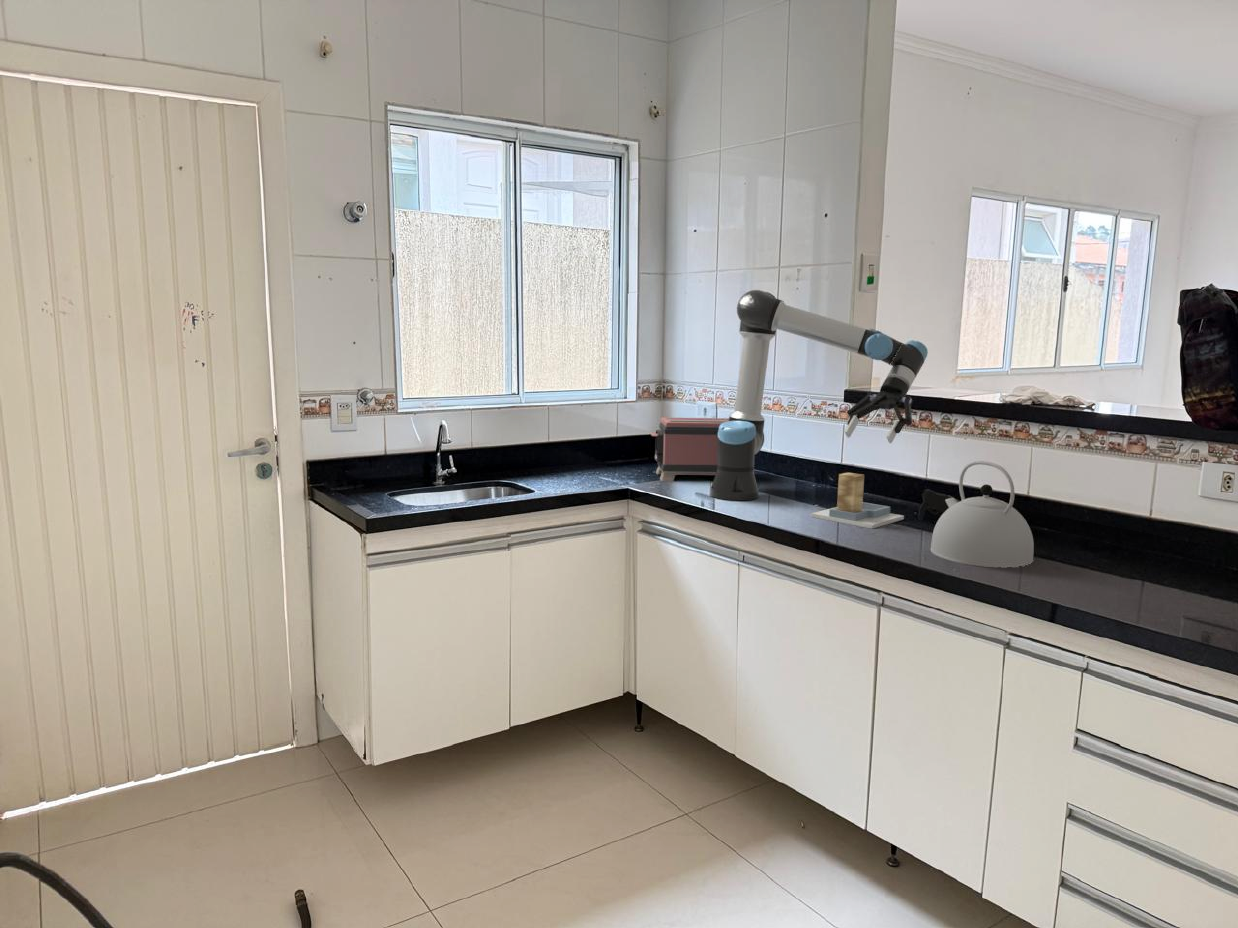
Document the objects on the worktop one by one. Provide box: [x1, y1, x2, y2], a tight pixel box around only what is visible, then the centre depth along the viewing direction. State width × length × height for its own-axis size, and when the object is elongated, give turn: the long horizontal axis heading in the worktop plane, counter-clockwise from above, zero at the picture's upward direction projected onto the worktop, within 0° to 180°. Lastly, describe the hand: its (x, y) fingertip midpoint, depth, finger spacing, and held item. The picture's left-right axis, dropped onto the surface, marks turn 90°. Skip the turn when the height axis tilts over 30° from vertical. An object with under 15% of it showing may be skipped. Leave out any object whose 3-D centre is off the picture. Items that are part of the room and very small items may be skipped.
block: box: [836, 472, 865, 513], centre depth 235 cm, size 5×5×12 cm
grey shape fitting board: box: [810, 501, 905, 529], centre depth 239 cm, size 19×18×3 cm
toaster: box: [650, 417, 729, 482], centre depth 301 cm, size 19×34×21 cm, turn 93°
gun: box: [918, 488, 961, 522], centre depth 236 cm, size 3×16×10 cm, turn 79°
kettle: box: [930, 460, 1035, 569], centre depth 201 cm, size 25×23×22 cm
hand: (867, 437), depth 247 cm, fingers open, 13 cm apart
